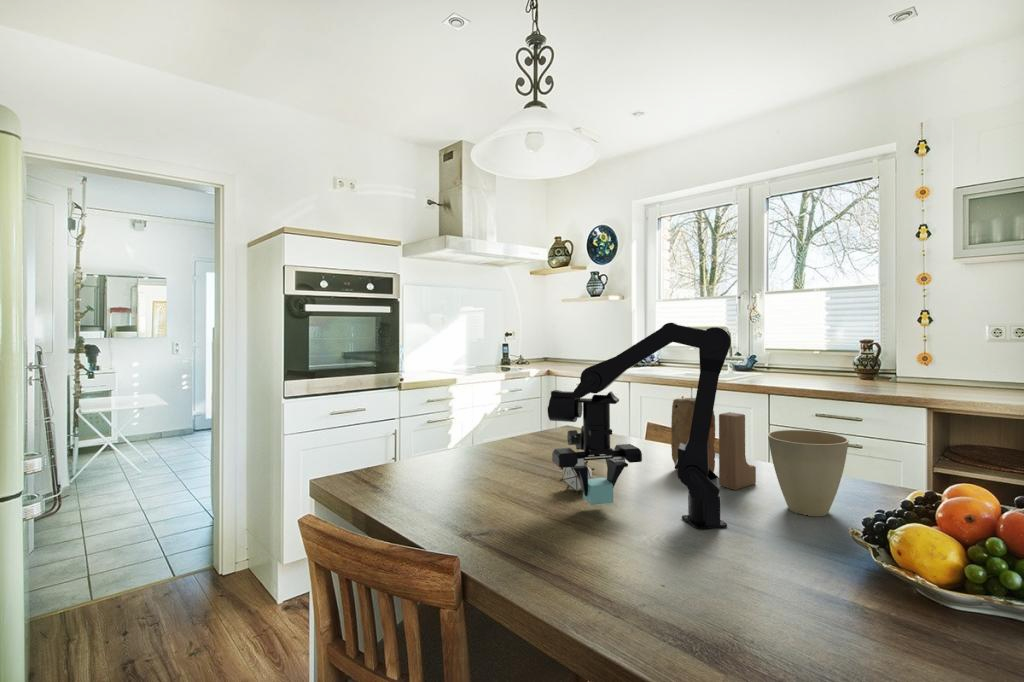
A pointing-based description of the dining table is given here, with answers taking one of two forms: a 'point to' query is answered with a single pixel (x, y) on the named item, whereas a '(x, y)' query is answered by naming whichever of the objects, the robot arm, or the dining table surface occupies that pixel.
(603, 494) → the teal block
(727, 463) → the wooden block
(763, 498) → the dining table surface
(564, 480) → the game die
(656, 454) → the dining table surface
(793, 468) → the plant pot
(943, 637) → the dining table surface
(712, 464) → the wooden upright piece
